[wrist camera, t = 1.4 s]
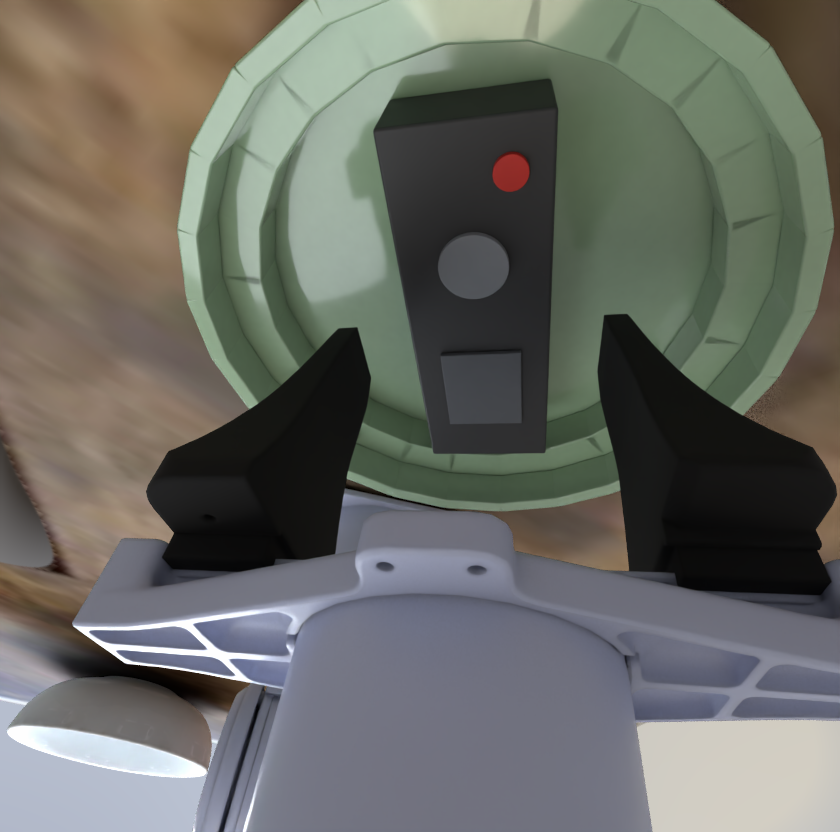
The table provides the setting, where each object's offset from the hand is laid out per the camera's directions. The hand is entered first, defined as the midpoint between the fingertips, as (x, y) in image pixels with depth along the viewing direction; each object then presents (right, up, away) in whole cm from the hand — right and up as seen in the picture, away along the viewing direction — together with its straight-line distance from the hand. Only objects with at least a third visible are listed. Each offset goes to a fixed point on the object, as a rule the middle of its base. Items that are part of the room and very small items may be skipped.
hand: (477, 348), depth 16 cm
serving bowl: (-35, -34, +46) cm, 67 cm away
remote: (0, +3, +3) cm, 4 cm away
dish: (+1, +3, +3) cm, 4 cm away
